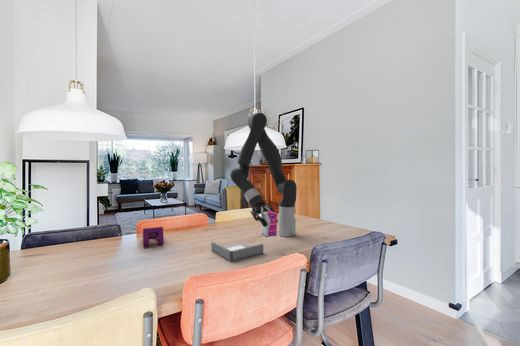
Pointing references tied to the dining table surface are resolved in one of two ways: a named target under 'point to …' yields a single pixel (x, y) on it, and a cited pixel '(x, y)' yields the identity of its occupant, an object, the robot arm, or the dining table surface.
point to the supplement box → (270, 224)
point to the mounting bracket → (153, 235)
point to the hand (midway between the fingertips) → (271, 224)
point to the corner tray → (236, 251)
